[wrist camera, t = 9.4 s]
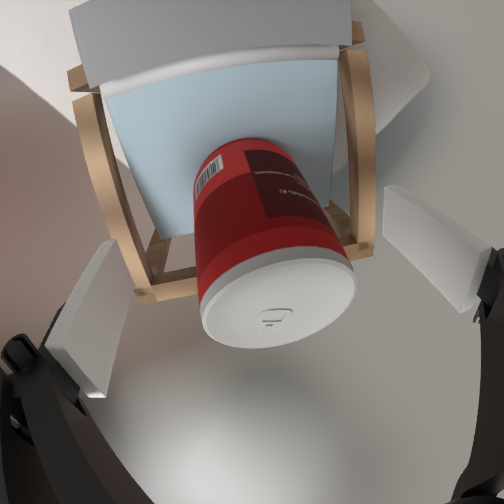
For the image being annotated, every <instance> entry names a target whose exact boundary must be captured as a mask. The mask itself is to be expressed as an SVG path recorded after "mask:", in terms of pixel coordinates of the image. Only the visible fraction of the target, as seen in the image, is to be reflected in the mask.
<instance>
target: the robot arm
mask: <svg viewBox="0 0 504 504" xmlns="http://www.w3.org/2000/svg"><path fill="white" fill-rule="evenodd" d="M382 236H383V237H385V238H386V239H387V240H388V241H389V242H390V243H391V244H392V245H393V246H394V247H396V249H398V250H399V251H400V252H401V253H402V254H403V255H404V256H405V257H406V258H407V259H408V260H409V261H410V262H411V263H412V264H413V265H414V266H415V267H416V268H418V270H419V271H420V272H421V273H422V274H423V275H425V277H426V278H427V279H428V280H429V281H430V282H431V283H432V284H433V285H434V286H435V287H436V288H437V289H438V290H439V291H440V292H441V293H442V294H443V295H444V296H445V298H446V299H447V300H448V301H449V302H450V303H451V304H452V305H453V306H454V307H455V308H456V310H457V311H458V312H459V313H462V312H464V311H466V310H468V309H470V308H472V306H473V304H474V301H475V299H476V296H477V295H478V296H479V297H480V299H481V302H480V305H479V307H478V309H477V312H476V314H475V316H474V319H473V322H474V323H475V322H476V319H477V318H478V317H480V320H479V322H478V323H480V330H481V380H480V396H479V406H478V415H477V423H476V430H475V435H474V441H473V446H472V451H471V456H470V460H469V463H468V465H467V467H466V468H465V470H464V471H463V473H462V474H461V476H460V478H459V479H458V482H457V484H456V487H455V489H454V492H453V496H452V498H451V501H450V502H448V503H446V504H504V499H502V498H498V497H496V496H497V494H498V493H499V492H500V491H501V490H503V489H504V248H502V249H499V250H498V251H497V250H495V249H494V248H493V247H491V246H490V245H489V244H487V243H486V242H485V241H483V240H482V239H481V238H479V237H478V236H476V235H475V234H474V233H472V232H471V231H470V230H468V229H467V228H465V227H464V226H462V225H461V224H460V223H458V222H457V221H455V220H454V219H452V218H451V217H449V216H447V215H446V214H444V213H443V212H441V211H440V210H438V209H437V208H435V207H433V206H432V205H430V204H428V203H427V202H425V201H424V200H422V199H420V198H418V197H417V196H415V195H413V194H412V193H410V192H408V191H406V190H405V189H403V188H401V187H399V186H397V185H391V186H385V187H384V211H383V228H382ZM135 287H136V286H135V284H134V281H133V279H132V277H131V274H130V272H129V270H128V267H127V265H126V263H125V260H124V258H123V255H122V253H121V250H120V248H119V245H118V243H117V240H116V239H113V240H109V241H105V242H102V244H101V245H100V247H99V248H98V250H97V251H96V253H95V254H94V256H93V257H92V259H91V261H90V262H89V264H88V265H87V267H86V269H85V270H84V272H83V274H82V275H81V277H80V279H79V280H78V282H77V284H76V286H75V287H74V289H73V291H72V292H71V295H70V296H69V298H68V300H67V302H65V303H64V304H63V305H62V307H61V308H60V309H59V310H58V311H57V313H56V315H55V317H54V319H53V321H52V323H51V325H50V329H48V331H47V333H46V335H45V337H44V339H43V341H42V343H41V345H40V347H39V349H38V350H37V348H36V347H35V346H34V345H33V343H32V342H31V341H30V339H29V338H28V336H26V334H23V333H22V334H18V335H16V336H14V337H12V338H11V339H10V340H9V341H8V342H7V343H6V345H5V346H4V348H3V350H2V352H1V358H2V359H3V361H4V362H5V363H6V364H7V365H8V367H9V368H10V369H11V370H12V371H13V372H14V373H12V374H9V375H7V374H6V373H5V371H4V370H3V369H2V368H1V367H0V504H154V503H153V502H152V500H151V499H150V498H149V497H148V496H147V495H146V493H145V492H144V491H143V490H142V489H141V488H140V486H139V485H138V484H137V483H136V481H135V480H134V479H133V478H132V476H131V475H130V474H129V472H128V471H127V470H126V468H125V467H124V466H123V464H122V463H121V462H120V460H119V459H118V457H117V456H116V455H115V453H114V452H113V450H112V449H111V447H110V446H109V444H108V443H107V441H106V440H105V438H104V436H103V435H102V433H101V432H100V430H99V429H98V427H97V425H96V423H95V422H94V420H93V419H92V417H91V415H90V413H89V411H88V410H87V408H86V406H85V404H84V402H83V401H82V400H81V399H80V398H79V397H78V394H79V390H80V388H81V389H82V390H83V392H84V393H85V394H86V395H87V396H88V397H106V395H107V390H108V385H109V381H110V376H111V372H112V368H113V364H114V359H115V355H116V351H117V348H118V343H119V340H120V336H121V333H122V329H123V325H124V322H125V319H126V315H127V312H128V309H129V305H130V302H131V299H132V296H133V293H134V290H135ZM10 417H11V418H12V419H13V420H15V422H17V426H18V427H17V428H15V427H13V426H12V425H11V421H10Z"/></svg>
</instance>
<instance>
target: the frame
mask: <svg viewBox="0 0 504 504" xmlns="http://www.w3.org/2000/svg"><path fill="white" fill-rule="evenodd" d="M364 41H365V40H364V35H363V29H362V25H361V22H355V21H352V45H355V44H358V43H361V42H364ZM338 46H339V49H342V48H345V47H348V46H347V45H338ZM338 61H339V67H340V74H341V82H342V90H343V98H344V107H345V117H346V129H347V142H348V159H349V180H350V181H349V182H350V217H349V216H348V215H347V214H346V213H345V212H344V211H343V210H342V209H340V208H339V207H338V206H337V205H336V204H335V203H334V202H332V201H331V200H330V199H329V206H328V207H323V208H322V210H323V211H324V213H325V215H326V217H327V219H328V220H329V222H330V224H331V226H332V228H333V229H334V231H335V233H336V235H337V237H338V239H339V241H340V243H341V244H342V246H343V248H344V250H345V253H346V255H347V257H348V259H349V261H353V260H357V259H361V258H366V257H370V256H373V248H374V234H375V215H376V141H375V123H374V109H373V98H372V88H371V80H370V72H369V65H368V58H367V52H366V51H358V50H344V51H341V52H339V58H338ZM67 74H68V81H69V87H70V91H73V92H95V93H91V94H88V95H86V96H84V97H81V98H79V99H77V100H75V101H73V102H72V104H73V109H74V114H75V119H76V123H77V128H78V132H79V136H80V140H81V144H82V148H83V152H84V156H85V159H86V163H87V167H88V170H89V174H90V177H91V180H92V183H93V186H94V190H95V193H96V196H97V199H98V202H99V205H100V208H101V211H102V213H103V217H104V219H105V222H106V225H107V227H108V230H109V233H110V235H111V238H112V240H113V239H116V240H117V243H118V245H119V248H120V250H121V253H122V255H123V258H124V260H125V263H126V265H127V267H128V270H129V272H130V274H131V277H132V279H133V281H134V284H135V286H136V287H135V290H134V292H135V294H136V296H137V298H138V301H139V303H140V304H144V303H150V302H156V301H162V300H166V299H172V298H178V297H184V296H189V295H194V294H198V289H197V274H196V266H195V267H190V268H186V269H180V270H175V271H170V272H166V273H164V268H165V264H166V260H167V255H168V251H169V247H170V243H171V239H172V238H167V239H163V240H161V239H160V236H159V234H158V232H157V230H156V228H155V231H154V233H153V236H152V238H151V241H150V243H149V246H148V249H147V251H146V253H145V251H144V248H143V245H142V242H141V240H140V237H139V234H138V231H137V228H136V225H135V222H134V219H133V216H132V213H131V211H130V207H129V204H128V201H127V198H126V194H125V191H124V188H123V184H122V181H121V178H120V174H119V170H118V167H117V163H116V159H115V156H114V152H113V148H112V144H111V140H110V136H109V132H108V127H107V123H106V118H105V114H104V109H103V104H102V99H101V94H100V93H101V91H100V85H99V86H96V87H94V88H91V89H90V87H89V84H88V81H87V78H86V75H85V71H84V68H83V65H82V64H81V65H79V66H77V67H75V68H73V69H71V70H69V71H67Z"/></svg>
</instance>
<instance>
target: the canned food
mask: <svg viewBox="0 0 504 504" xmlns="http://www.w3.org/2000/svg"><path fill="white" fill-rule="evenodd" d="M193 208H194V234H195V235H194V236H195V257H196V274H197V289H198V297H199V308H200V314H201V317H202V323H203V327H204V329H205V331H206V332H207V334H208V335H209V336H210V337H211V338H213V339H214V340H216V341H218V342H220V343H223V344H225V345H229V346H233V347H241V348H265V347H273V346H278V345H283V344H287V343H290V342H294V341H296V340H299V339H302V338H304V337H307V336H309V335H311V334H313V333H315V332H317V331H319V330H320V329H322V328H324V327H326V326H327V325H328V324H330V323H331V322H332V321H334V320H335V319H336V318H338V317H339V316H340V315H341V314H342V313H343V312H344V311H345V310H346V309H347V307H348V306H349V305H350V303H351V301H352V300H353V298H354V296H355V294H356V289H357V280H356V276H355V274H354V272H353V267H352V265H351V263H350V261H349V259H348V257H347V255H346V253H345V250H344V248H343V246H342V244H341V243H340V241H339V239H338V237H337V235H336V233H335V231H334V229H333V228H332V226H331V224H330V222H329V220H328V219H327V217H326V215H325V213H324V211H323V210H322V208H321V206H320V204H319V203H318V201H317V199H316V197H315V196H314V194H313V192H312V190H311V189H310V187H309V185H308V184H307V182H306V180H305V179H304V177H303V175H302V174H301V172H300V170H299V169H298V167H297V166H296V164H295V162H294V161H293V159H292V158H291V156H290V155H289V154H288V153H287V152H286V151H285V150H284V149H282V148H281V147H279V146H277V145H275V144H273V143H271V142H269V141H266V140H262V139H257V138H243V139H237V140H234V141H231V142H228V143H226V144H224V145H222V146H220V147H219V148H217V149H216V150H215V151H213V152H212V153H211V154H210V155H209V156H208V157H207V158H206V160H205V161H204V162H203V164H202V166H201V168H200V169H199V171H198V173H197V175H196V178H195V182H194V188H193Z"/></svg>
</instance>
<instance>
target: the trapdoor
mask: <svg viewBox="0 0 504 504" xmlns="http://www.w3.org/2000/svg"><path fill="white" fill-rule="evenodd" d="M69 14H70V19H71V23H72V27H73V31H74V36H75V39H76V43H77V47H78V51H79V54H80V58H81V61H82V65H83V68H84V71H85V75H86V78H87V81H88V84H89V87H90V89H91V88H94V87H96V86H99V85H100V91H101V94H102V97H103V98H104V99H105V101H106V104H107V107H108V110H109V113H110V116H111V119H112V122H113V125H114V127H115V130H116V133H117V136H118V138H119V141H120V144H121V146H122V149H123V152H124V154H125V157H126V159H127V162H128V165H129V167H130V170H131V172H132V174H133V177H134V179H135V182H136V184H137V187H138V189H139V191H140V194H141V196H142V198H143V201H144V203H145V205H146V208H147V210H148V212H149V214H150V217H151V219H152V221H153V223H154V226H155V228H156V230H157V232H158V234H159V236H160V239H161V240H163V239H167V238H172V237H176V236H181V235H185V234H190V233H194V208H193V188H194V182H195V178H196V175H197V173H198V171H199V169H200V168H201V166H202V164H203V162H204V161H205V160H206V158H207V157H208V156H209V155H210V154H211V153H212V152H213V151H215V150H216V149H217V148H219V147H220V146H222V145H224V144H226V143H228V142H231V141H234V140H237V139H243V138H257V139H262V140H266V141H269V142H271V143H273V144H275V145H277V146H279V147H281V148H282V149H284V150H285V151H286V152H287V153H288V154H289V155H290V156H291V158H292V159H293V161H294V162H295V164H296V166H297V167H298V169H299V170H300V172H301V174H302V175H303V177H304V179H305V180H306V182H307V184H308V185H309V187H310V189H311V190H312V192H313V194H314V196H315V197H316V199H317V201H318V203H319V204H320V206H321V208H323V207H328V206H329V199H330V189H331V178H332V167H333V155H334V140H335V124H336V101H337V60H338V58H339V46H338V45H347V46H352V10H351V0H89V1H87V2H85V3H83V4H81V5H79V6H76V7H74V8H72V9H70V10H69Z"/></svg>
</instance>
